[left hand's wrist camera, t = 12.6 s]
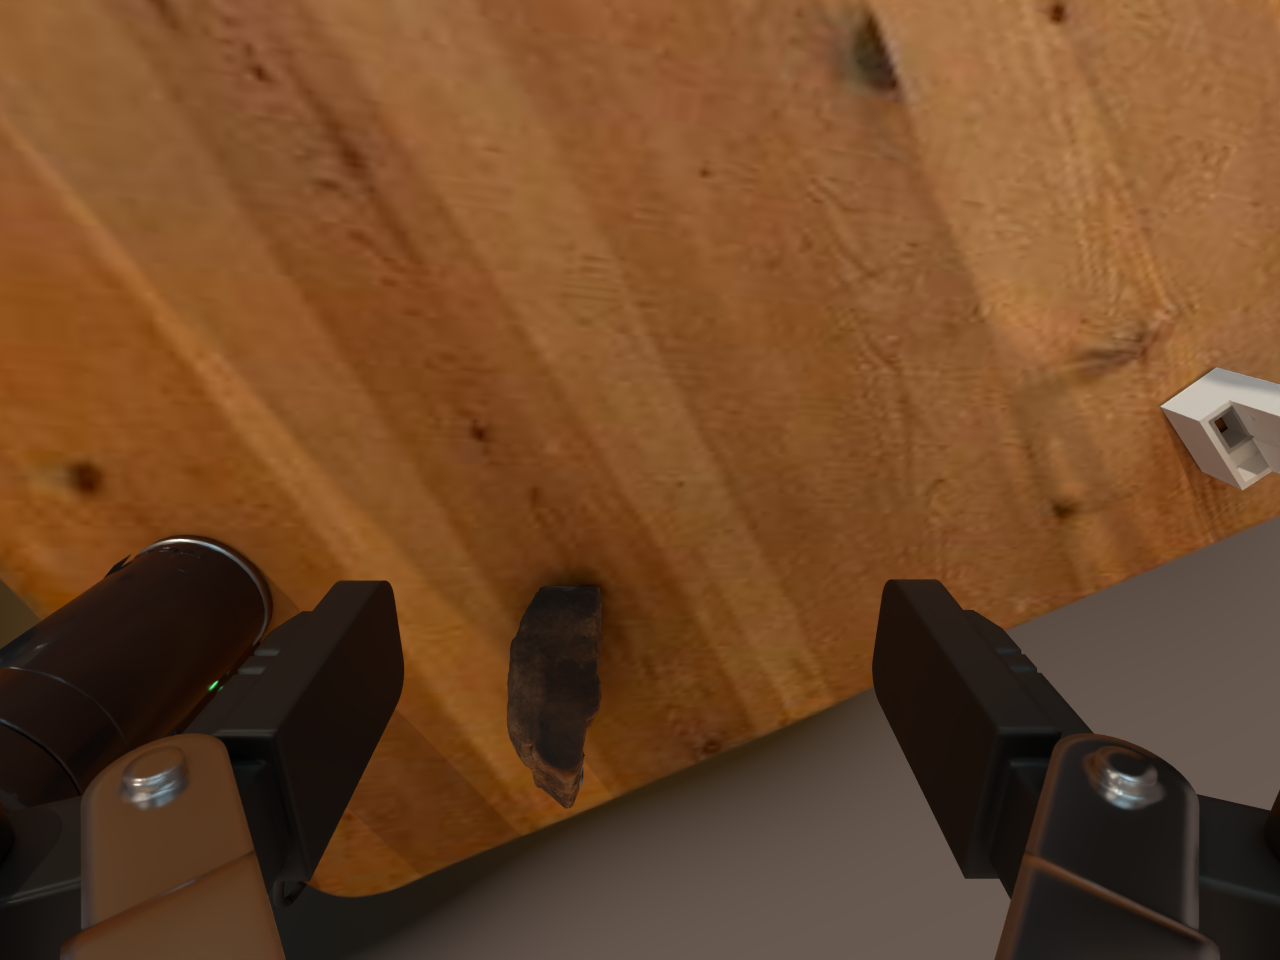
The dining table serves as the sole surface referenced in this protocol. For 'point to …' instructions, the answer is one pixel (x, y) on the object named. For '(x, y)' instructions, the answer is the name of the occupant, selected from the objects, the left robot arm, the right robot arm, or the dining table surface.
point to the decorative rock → (555, 686)
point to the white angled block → (1230, 425)
